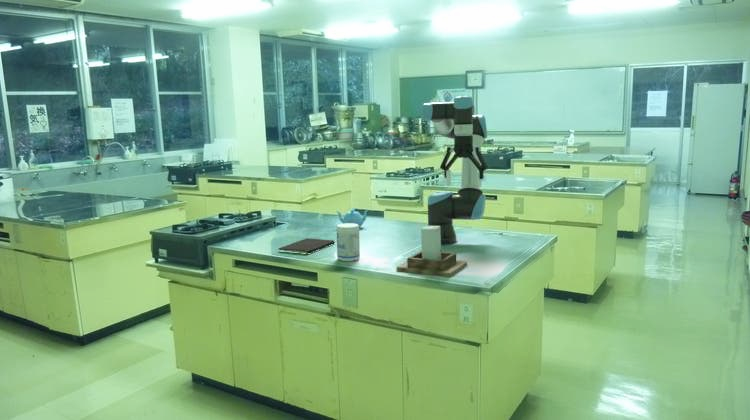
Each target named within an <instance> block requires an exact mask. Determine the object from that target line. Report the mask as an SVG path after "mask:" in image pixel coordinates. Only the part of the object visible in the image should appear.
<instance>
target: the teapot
mask: <svg viewBox="0 0 750 420" xmlns="http://www.w3.org/2000/svg"><path fill="white" fill-rule="evenodd" d="M368 211H369V209H367V210H365V211H364V212H363V217H362V215H361V214H360V212H359V211H355V207H352V209H350V210H349V211H347V212H346V213H345V214H344V216H343V217H342V214H341V212H340V211H338V210H336V211H335V212H336V213H337V214H338V218H339V221H340V223H341V224H344V223H354V224H358V225H359V228H360V227H362V226H363V224H364V223H365V221H366V220H367V212H368Z"/></svg>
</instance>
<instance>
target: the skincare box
mask: <svg viewBox="0 0 750 420" xmlns="http://www.w3.org/2000/svg"><path fill="white" fill-rule="evenodd" d="M420 230H421V231H420V232H421V234H420V235H421V236H420V237H421V238H420V239H421V251H422V259H429V260H438V261H441V252H442V244H441V235H440V226H428V225H426V226H424V227H423V228H421V229H420Z"/></svg>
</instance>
